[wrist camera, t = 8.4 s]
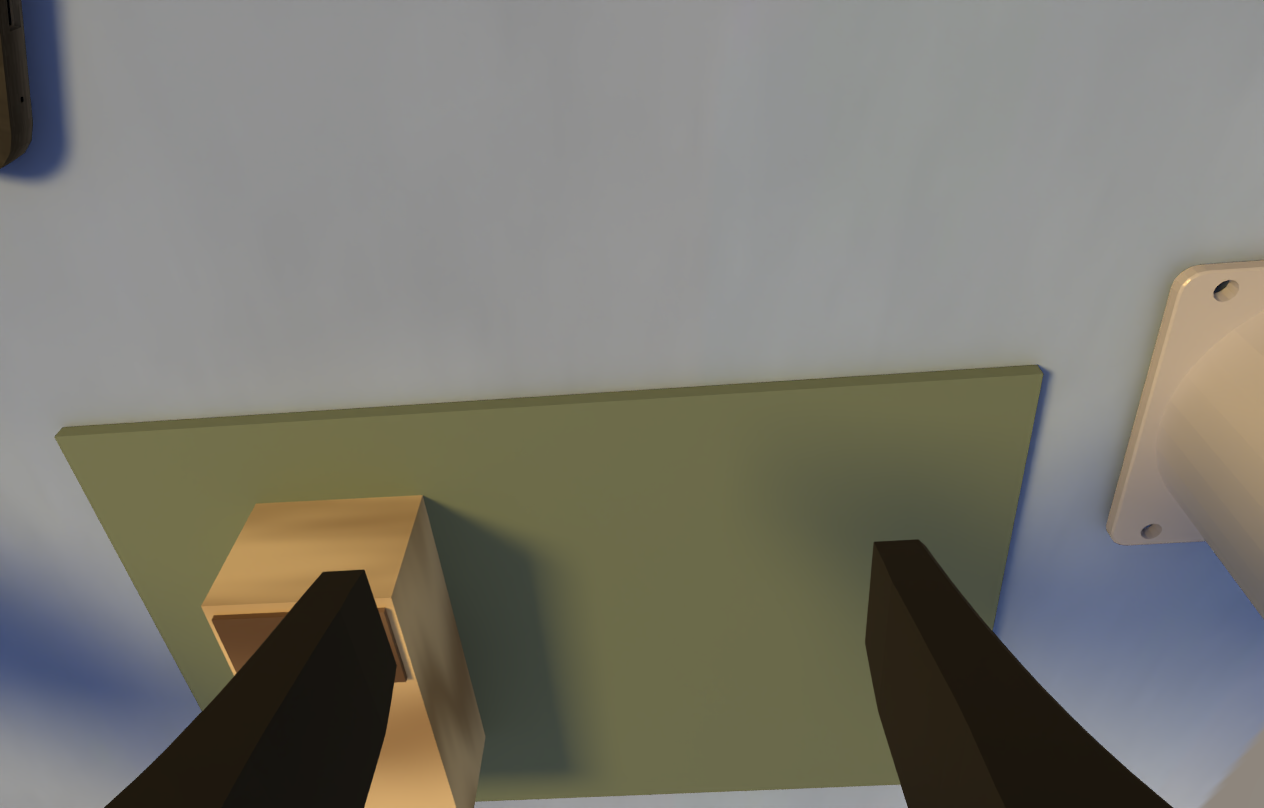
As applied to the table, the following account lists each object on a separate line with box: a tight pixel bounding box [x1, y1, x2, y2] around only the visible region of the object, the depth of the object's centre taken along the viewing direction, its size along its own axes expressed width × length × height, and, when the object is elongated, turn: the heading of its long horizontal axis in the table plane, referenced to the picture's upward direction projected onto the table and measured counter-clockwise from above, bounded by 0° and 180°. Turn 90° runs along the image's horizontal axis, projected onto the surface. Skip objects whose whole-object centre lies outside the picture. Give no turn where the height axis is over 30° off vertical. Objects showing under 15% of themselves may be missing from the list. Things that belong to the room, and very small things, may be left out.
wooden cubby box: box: [201, 495, 485, 808], centre depth 25 cm, size 10×4×4 cm, turn 4°
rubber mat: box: [55, 365, 1043, 802], centre depth 27 cm, size 24×16×1 cm, turn 95°
